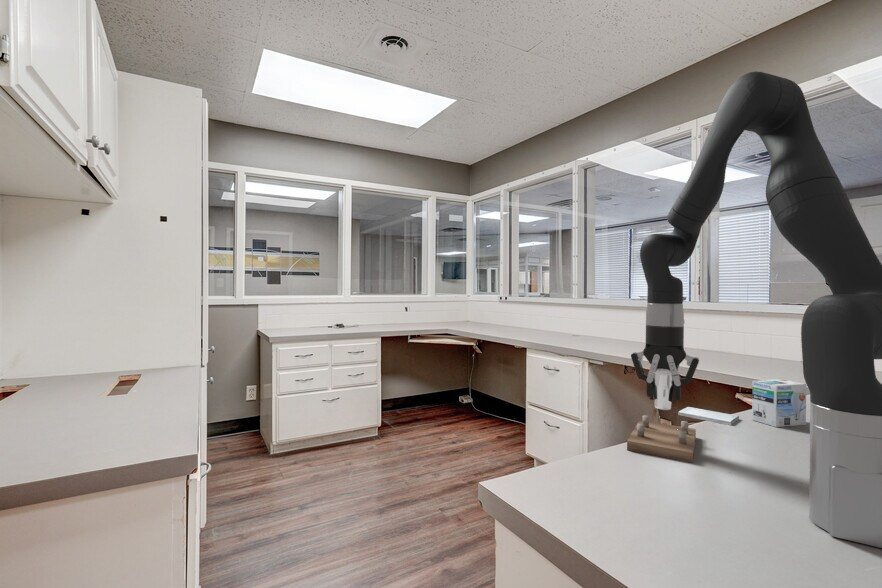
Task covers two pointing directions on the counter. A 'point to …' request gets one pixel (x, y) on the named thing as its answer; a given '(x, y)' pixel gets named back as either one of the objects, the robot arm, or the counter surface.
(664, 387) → the milkshake
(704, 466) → the counter surface
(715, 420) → the hard drive
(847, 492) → the robot arm
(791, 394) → the light bulb box
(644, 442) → the peg plinth
